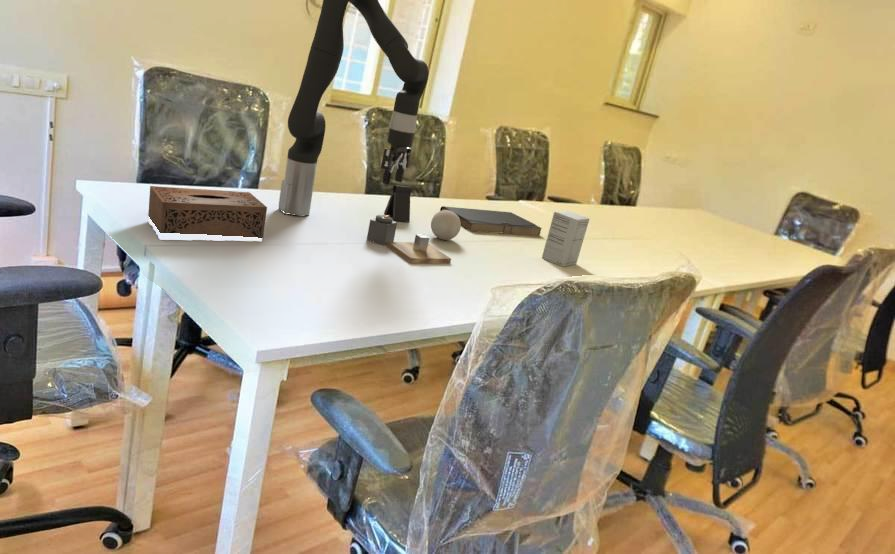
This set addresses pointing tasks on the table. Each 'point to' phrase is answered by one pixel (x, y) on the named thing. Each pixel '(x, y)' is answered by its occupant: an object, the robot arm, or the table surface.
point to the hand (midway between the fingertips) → (392, 182)
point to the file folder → (493, 221)
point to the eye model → (445, 224)
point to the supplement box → (565, 238)
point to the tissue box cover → (206, 212)
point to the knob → (382, 229)
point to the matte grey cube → (421, 243)
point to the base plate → (418, 253)
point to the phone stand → (399, 204)
